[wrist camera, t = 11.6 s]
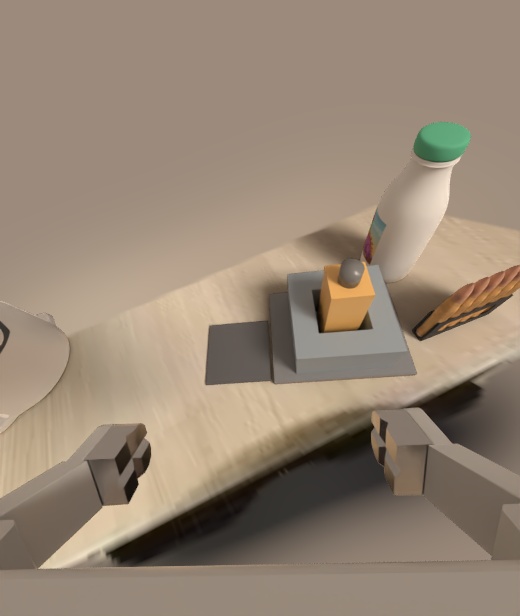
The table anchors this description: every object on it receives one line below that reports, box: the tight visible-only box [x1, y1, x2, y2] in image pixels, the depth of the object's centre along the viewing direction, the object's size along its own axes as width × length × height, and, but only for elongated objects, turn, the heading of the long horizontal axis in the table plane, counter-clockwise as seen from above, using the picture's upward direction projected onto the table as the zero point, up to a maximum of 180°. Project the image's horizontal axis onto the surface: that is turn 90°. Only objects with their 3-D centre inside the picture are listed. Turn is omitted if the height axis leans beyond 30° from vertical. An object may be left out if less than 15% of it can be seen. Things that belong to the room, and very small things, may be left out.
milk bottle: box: [360, 122, 471, 283], centre depth 33 cm, size 8×8×20 cm
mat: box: [206, 321, 271, 385], centre depth 37 cm, size 9×9×1 cm
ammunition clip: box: [413, 265, 520, 341], centre depth 31 cm, size 11×2×12 cm, turn 110°
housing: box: [269, 265, 417, 384], centre depth 34 cm, size 18×14×7 cm
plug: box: [317, 258, 375, 334], centre depth 30 cm, size 4×4×14 cm
